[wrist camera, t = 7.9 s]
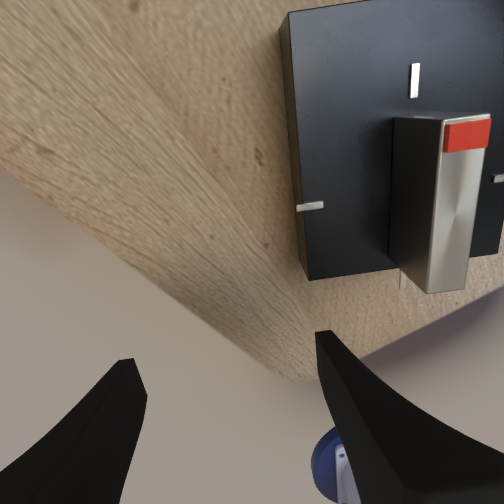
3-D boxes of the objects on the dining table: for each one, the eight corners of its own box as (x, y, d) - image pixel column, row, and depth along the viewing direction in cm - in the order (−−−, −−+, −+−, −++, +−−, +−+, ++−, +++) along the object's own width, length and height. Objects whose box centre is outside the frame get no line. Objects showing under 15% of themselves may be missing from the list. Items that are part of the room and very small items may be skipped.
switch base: (467, 253, 22) (502, 274, 19) (295, 278, 22) (304, 303, 19) (503, -7, 16) (561, -32, 13) (271, 29, 16) (279, 12, 14)
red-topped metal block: (419, 254, 18) (468, 292, 15) (387, 258, 18) (428, 298, 15) (431, 111, 15) (497, 111, 12) (393, 116, 15) (446, 118, 12)
